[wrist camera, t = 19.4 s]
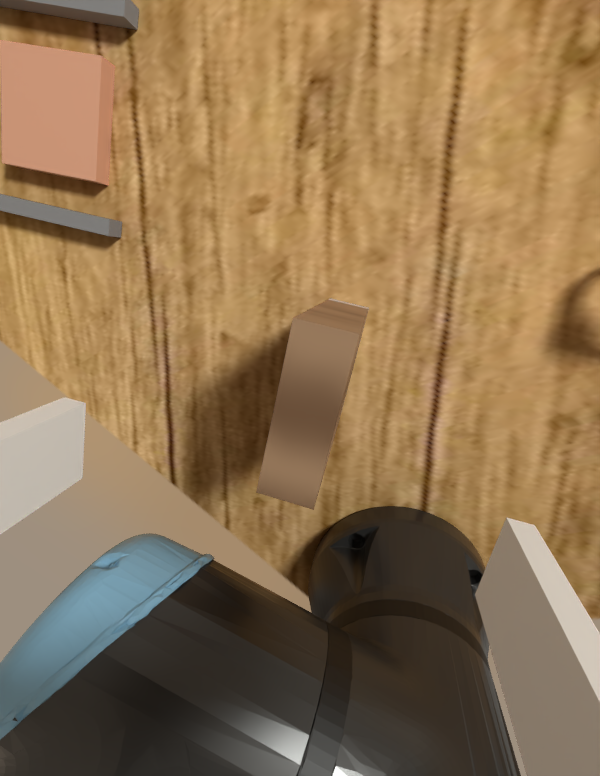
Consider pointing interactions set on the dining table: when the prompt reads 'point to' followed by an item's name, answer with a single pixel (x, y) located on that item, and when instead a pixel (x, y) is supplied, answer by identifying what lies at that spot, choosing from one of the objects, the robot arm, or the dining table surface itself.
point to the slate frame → (93, 4)
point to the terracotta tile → (56, 111)
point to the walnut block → (310, 400)
